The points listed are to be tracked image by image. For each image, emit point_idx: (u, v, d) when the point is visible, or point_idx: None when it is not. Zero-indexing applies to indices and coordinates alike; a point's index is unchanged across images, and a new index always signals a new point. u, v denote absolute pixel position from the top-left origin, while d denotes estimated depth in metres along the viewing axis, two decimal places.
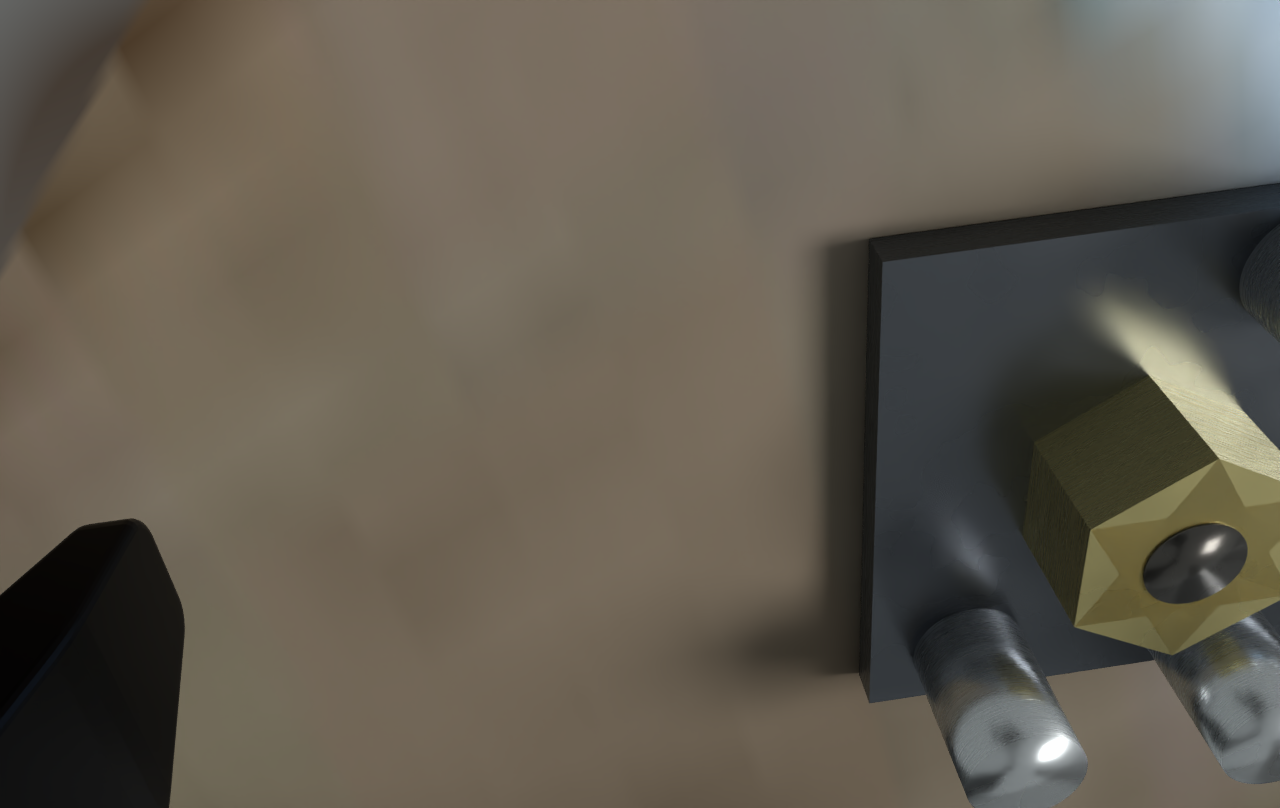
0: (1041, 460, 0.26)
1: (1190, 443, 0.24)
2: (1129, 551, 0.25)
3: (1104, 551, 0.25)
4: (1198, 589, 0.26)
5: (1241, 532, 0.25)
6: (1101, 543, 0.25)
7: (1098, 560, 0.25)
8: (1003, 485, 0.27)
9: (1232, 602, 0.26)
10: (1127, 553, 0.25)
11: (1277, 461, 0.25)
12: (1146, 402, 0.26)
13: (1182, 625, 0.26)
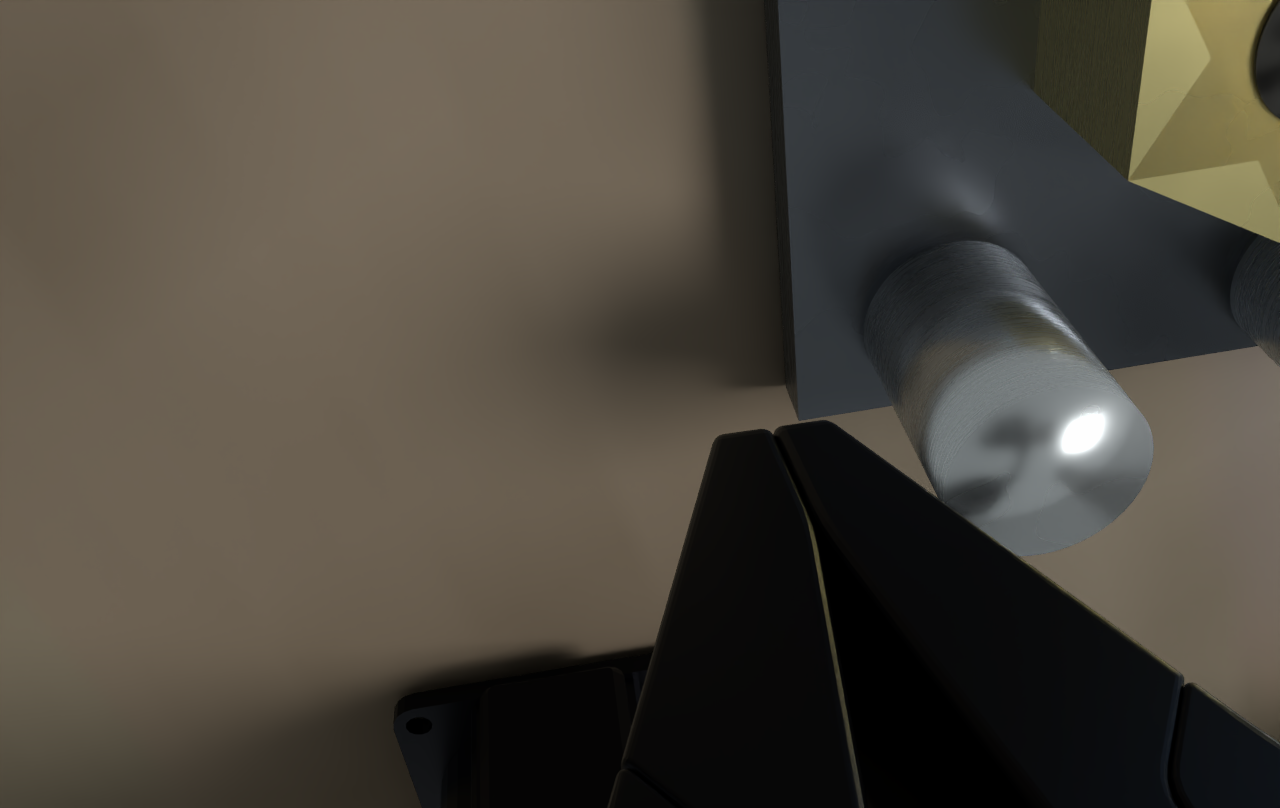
0: None
1: None
2: (1231, 1, 0.13)
3: (1184, 0, 0.13)
4: None
5: None
6: None
7: (1172, 23, 0.13)
8: None
9: None
10: (1227, 6, 0.13)
11: None
12: None
13: None
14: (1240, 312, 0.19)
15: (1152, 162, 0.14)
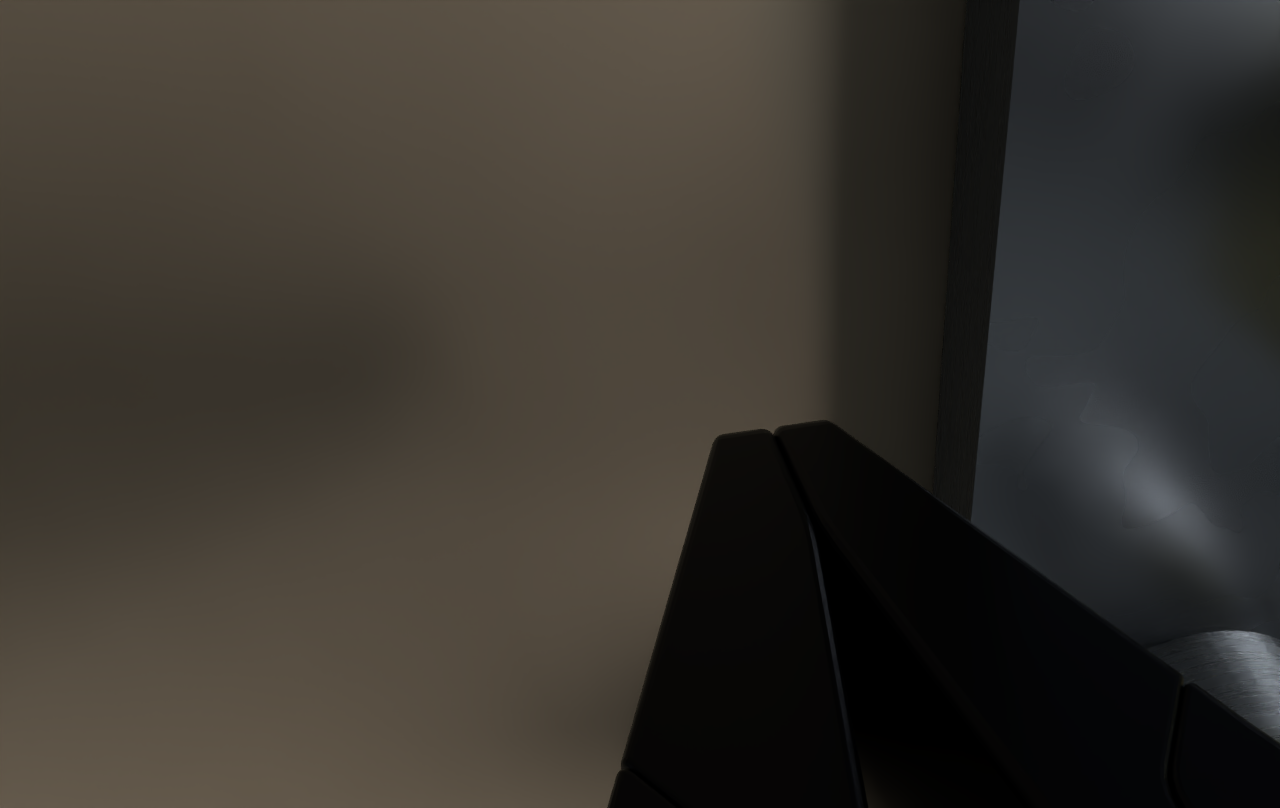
0: None
1: None
2: None
3: None
4: None
5: None
6: None
7: None
8: None
9: None
10: None
11: None
12: None
13: None
14: None
15: None
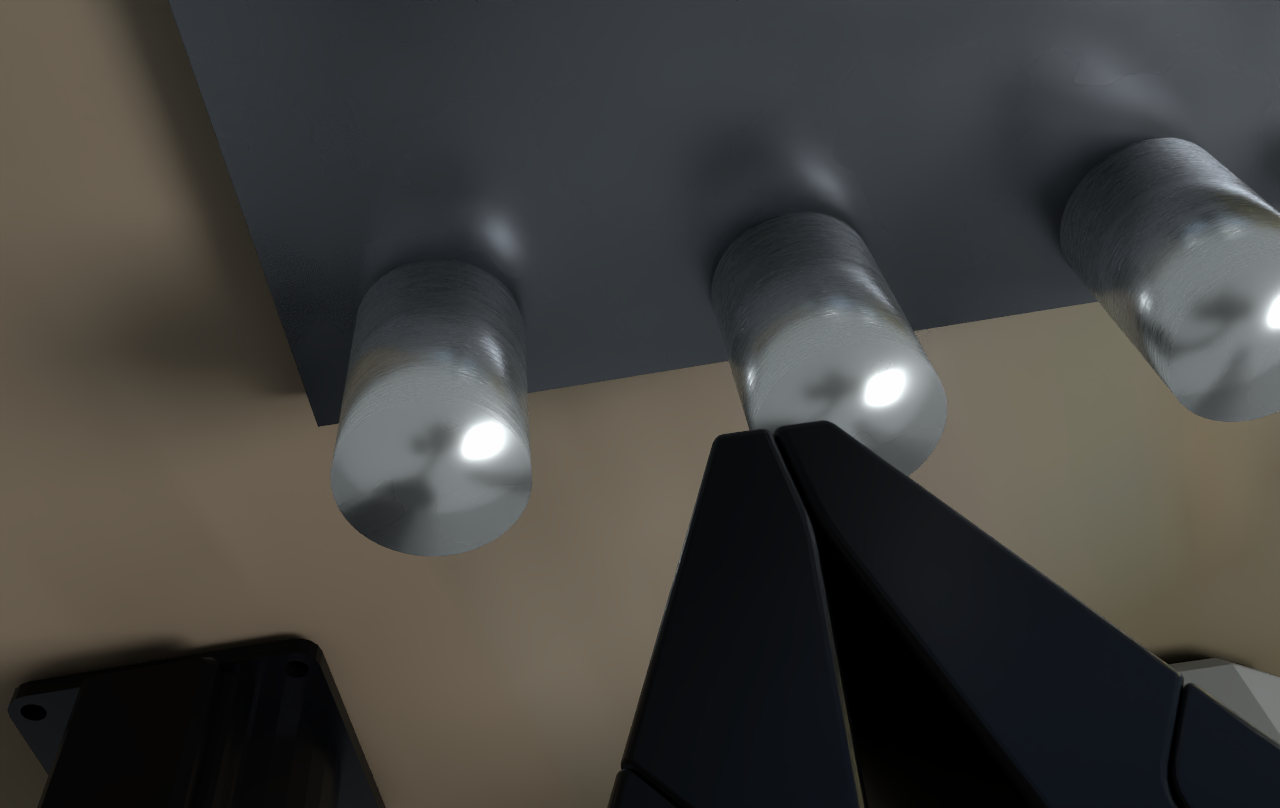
0: None
1: None
2: None
3: None
4: None
5: None
6: None
7: None
8: (393, 18, 0.17)
9: None
10: None
11: None
12: None
13: None
14: None
15: None
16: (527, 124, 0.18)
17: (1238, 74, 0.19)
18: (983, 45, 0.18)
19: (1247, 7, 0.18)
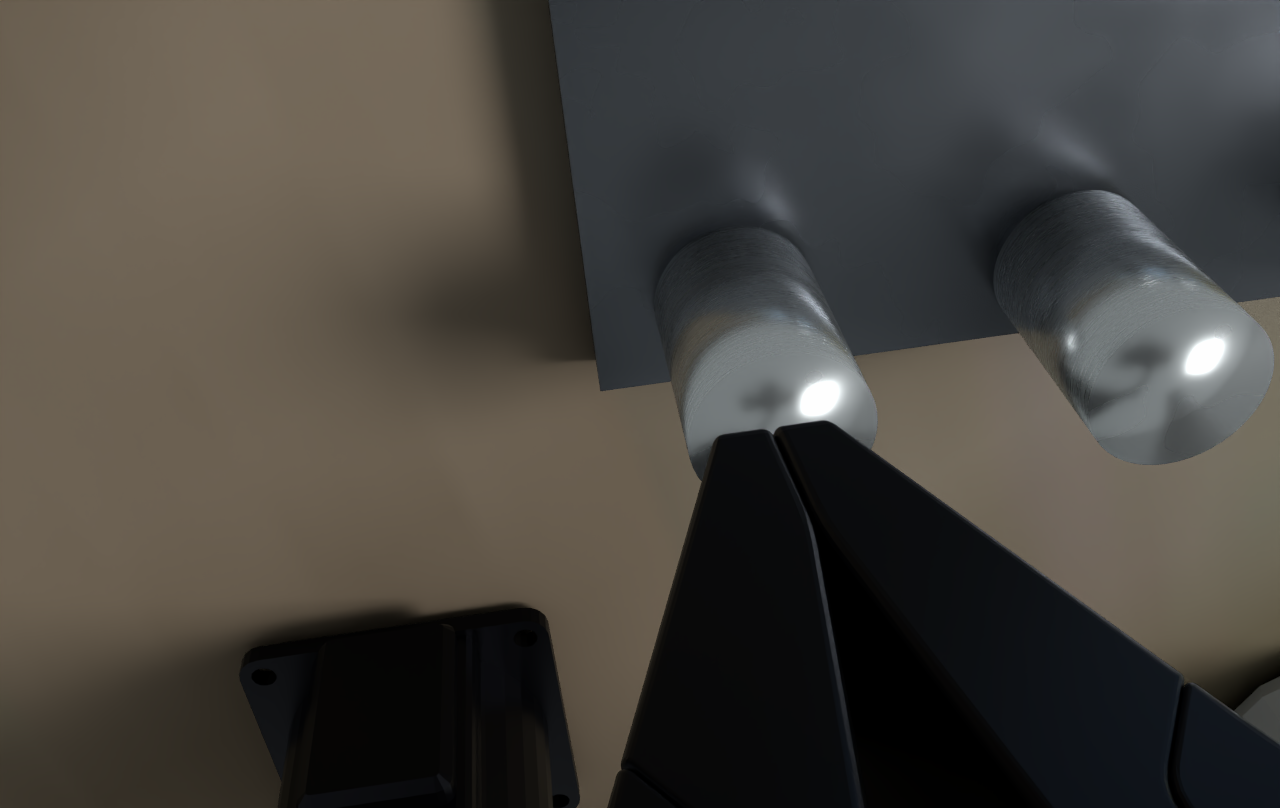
0: None
1: None
2: None
3: None
4: None
5: None
6: None
7: None
8: None
9: None
10: None
11: None
12: None
13: None
14: (1000, 299, 0.21)
15: None
16: (854, 96, 0.19)
17: None
18: None
19: None
